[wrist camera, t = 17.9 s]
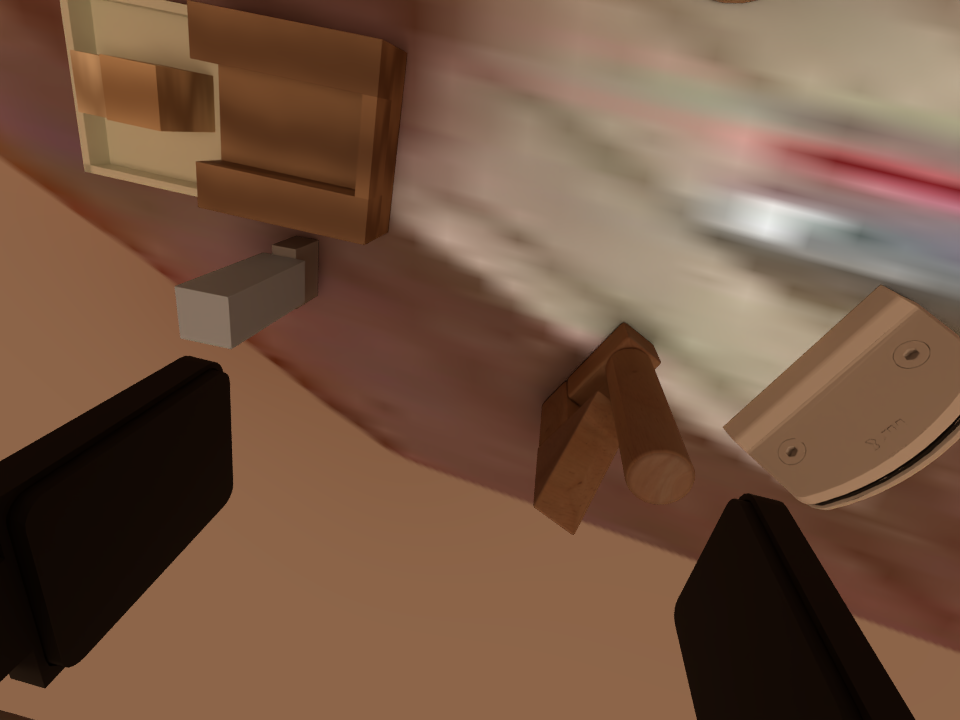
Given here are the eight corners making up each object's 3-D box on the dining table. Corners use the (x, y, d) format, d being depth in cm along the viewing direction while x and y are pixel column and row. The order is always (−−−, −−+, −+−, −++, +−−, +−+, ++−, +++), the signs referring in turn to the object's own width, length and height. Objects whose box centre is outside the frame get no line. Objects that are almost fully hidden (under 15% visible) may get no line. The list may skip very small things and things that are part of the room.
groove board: (237, 18, 37) (186, -1, 32) (407, 52, 36) (382, 39, 31) (240, 199, 42) (198, 207, 37) (388, 232, 42) (364, 244, 37)
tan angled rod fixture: (540, 404, 46) (528, 550, 30) (623, 319, 42) (661, 436, 25) (571, 427, 46) (575, 583, 30) (655, 346, 42) (714, 477, 26)
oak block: (164, 65, 38) (99, 53, 33) (213, 75, 38) (155, 65, 33) (168, 122, 40) (106, 119, 35) (215, 132, 40) (160, 131, 34)
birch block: (163, 67, 38) (115, 57, 39) (122, 60, 35) (69, 49, 35) (168, 124, 40) (122, 114, 40) (129, 122, 37) (78, 111, 37)
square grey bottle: (288, 234, 43) (173, 274, 30) (326, 241, 43) (227, 285, 30) (288, 289, 45) (181, 348, 32) (325, 297, 45) (232, 359, 32)
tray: (87, -12, 37) (56, -22, 35) (235, 18, 37) (213, 10, 35) (109, 169, 43) (84, 171, 41) (238, 198, 42) (220, 201, 40)
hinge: (885, 280, 37) (1021, 354, 29) (915, 307, 39) (1050, 384, 31) (719, 430, 44) (792, 524, 36) (751, 446, 46) (827, 539, 38)
